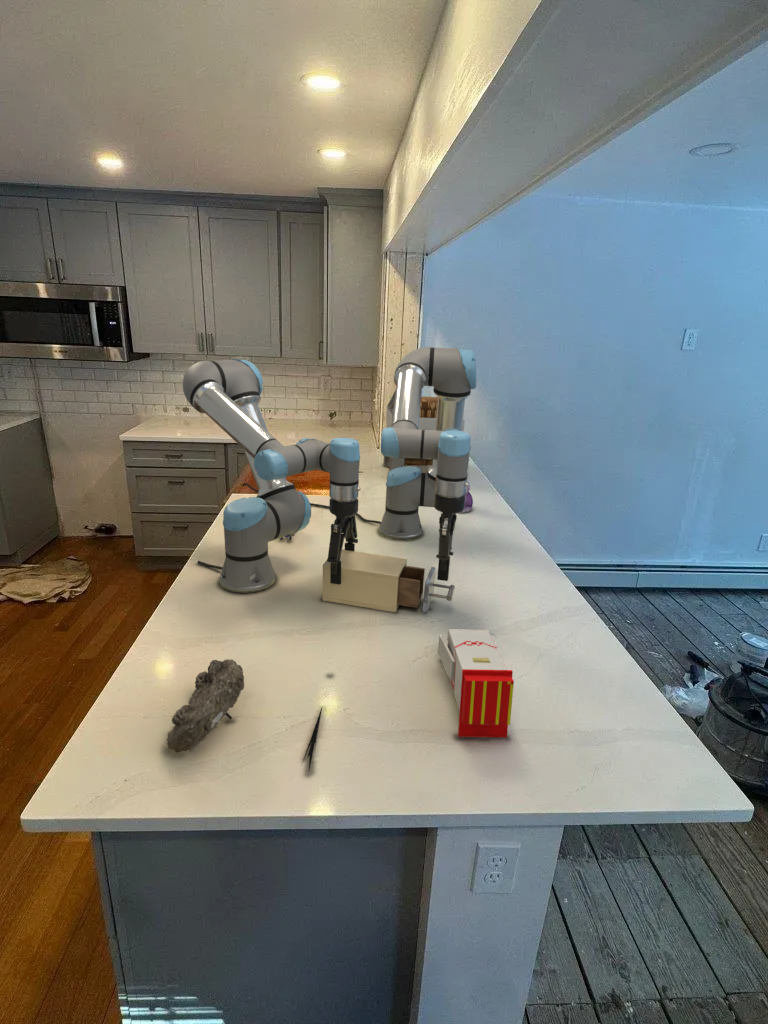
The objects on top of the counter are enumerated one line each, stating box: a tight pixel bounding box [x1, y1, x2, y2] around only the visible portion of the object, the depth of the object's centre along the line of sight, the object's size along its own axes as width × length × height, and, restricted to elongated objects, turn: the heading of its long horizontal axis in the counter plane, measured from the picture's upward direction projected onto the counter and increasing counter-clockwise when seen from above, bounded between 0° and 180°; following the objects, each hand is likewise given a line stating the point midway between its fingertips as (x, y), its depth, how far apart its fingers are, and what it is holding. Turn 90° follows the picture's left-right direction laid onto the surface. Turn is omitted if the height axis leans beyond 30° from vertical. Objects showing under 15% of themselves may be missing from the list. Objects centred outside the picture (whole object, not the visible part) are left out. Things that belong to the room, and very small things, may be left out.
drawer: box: [397, 565, 456, 614], centre depth 151 cm, size 25×10×8 cm, turn 76°
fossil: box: [166, 658, 245, 754], centre depth 106 cm, size 22×10×15 cm
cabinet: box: [321, 549, 408, 613], centre depth 154 cm, size 20×11×10 cm, turn 76°
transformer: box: [383, 389, 465, 472], centre depth 268 cm, size 34×33×41 cm
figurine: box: [461, 472, 474, 514], centre depth 225 cm, size 9×10×15 cm
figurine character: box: [279, 533, 296, 542], centre depth 193 cm, size 7×8×15 cm
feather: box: [301, 673, 332, 771], centre depth 108 cm, size 2×28×2 cm
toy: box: [437, 628, 515, 738], centre depth 117 cm, size 12×13×30 cm
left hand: (342, 573), depth 155 cm, fingers closed on cabinet, 11 cm apart
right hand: (442, 579), depth 148 cm, fingers closed
